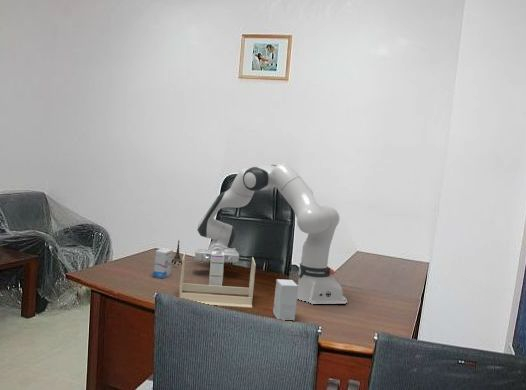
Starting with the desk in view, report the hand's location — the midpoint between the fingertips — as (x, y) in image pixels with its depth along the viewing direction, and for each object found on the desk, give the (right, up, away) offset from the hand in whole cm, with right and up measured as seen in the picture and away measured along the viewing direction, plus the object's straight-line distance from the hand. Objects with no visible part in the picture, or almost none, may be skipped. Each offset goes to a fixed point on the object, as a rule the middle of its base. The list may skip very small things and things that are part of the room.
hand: (217, 259), depth 210 cm
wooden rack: (+2, -12, -24) cm, 27 cm away
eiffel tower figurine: (-23, -6, +23) cm, 33 cm away
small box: (+28, -16, -38) cm, 50 cm away
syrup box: (0, -10, -8) cm, 13 cm away
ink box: (-25, -7, -1) cm, 26 cm away
